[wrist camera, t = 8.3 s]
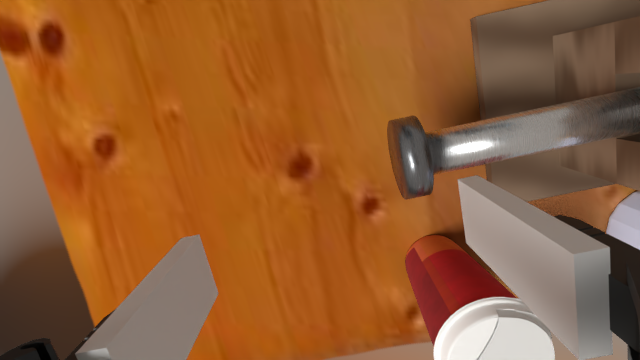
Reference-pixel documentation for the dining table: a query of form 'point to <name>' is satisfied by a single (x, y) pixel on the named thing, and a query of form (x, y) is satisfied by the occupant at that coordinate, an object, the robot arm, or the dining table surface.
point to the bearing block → (559, 86)
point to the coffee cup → (471, 307)
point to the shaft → (505, 137)
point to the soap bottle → (626, 221)
